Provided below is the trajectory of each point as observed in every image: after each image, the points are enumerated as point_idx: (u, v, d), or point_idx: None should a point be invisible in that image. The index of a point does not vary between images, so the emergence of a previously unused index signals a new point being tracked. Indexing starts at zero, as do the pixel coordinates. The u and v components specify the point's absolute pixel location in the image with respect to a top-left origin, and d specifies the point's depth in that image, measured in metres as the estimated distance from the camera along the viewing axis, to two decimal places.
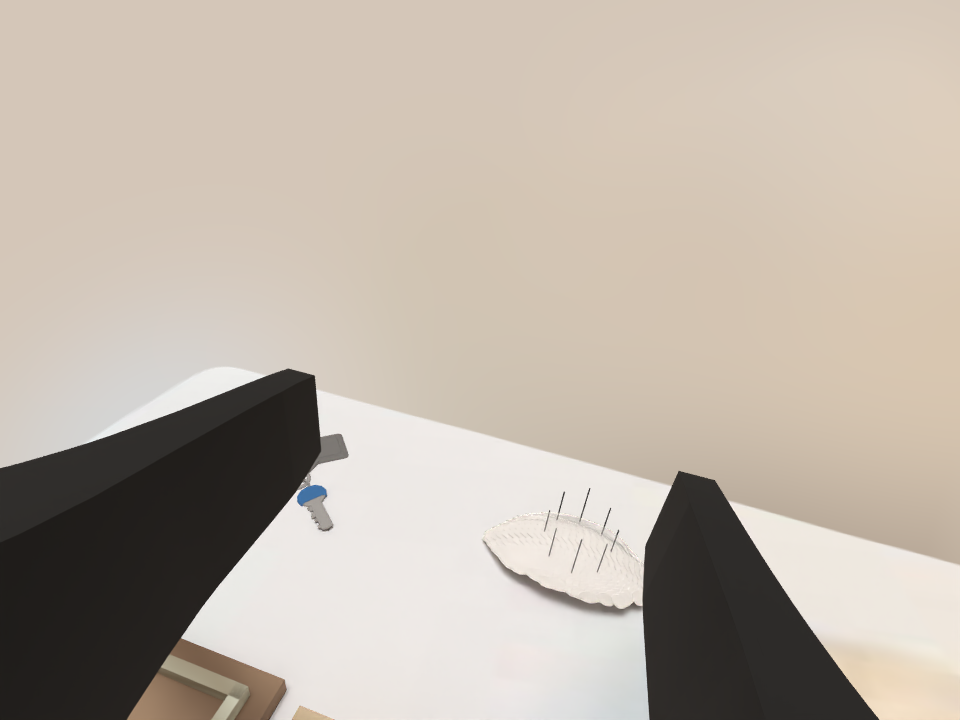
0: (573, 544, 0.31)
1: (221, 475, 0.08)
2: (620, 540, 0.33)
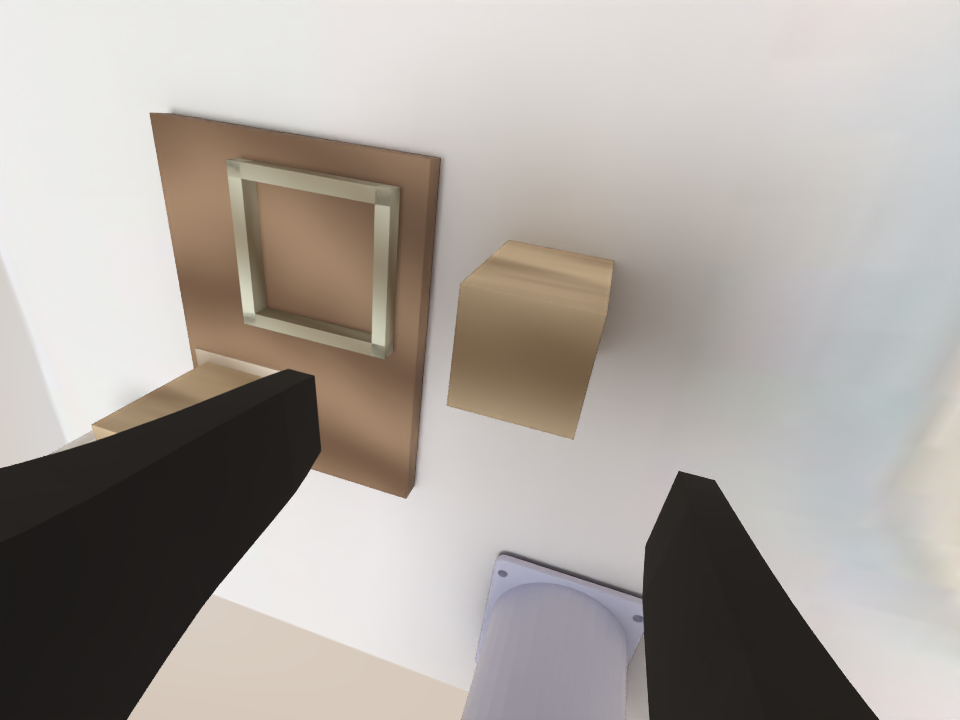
0: None
1: (221, 475, 0.08)
2: None
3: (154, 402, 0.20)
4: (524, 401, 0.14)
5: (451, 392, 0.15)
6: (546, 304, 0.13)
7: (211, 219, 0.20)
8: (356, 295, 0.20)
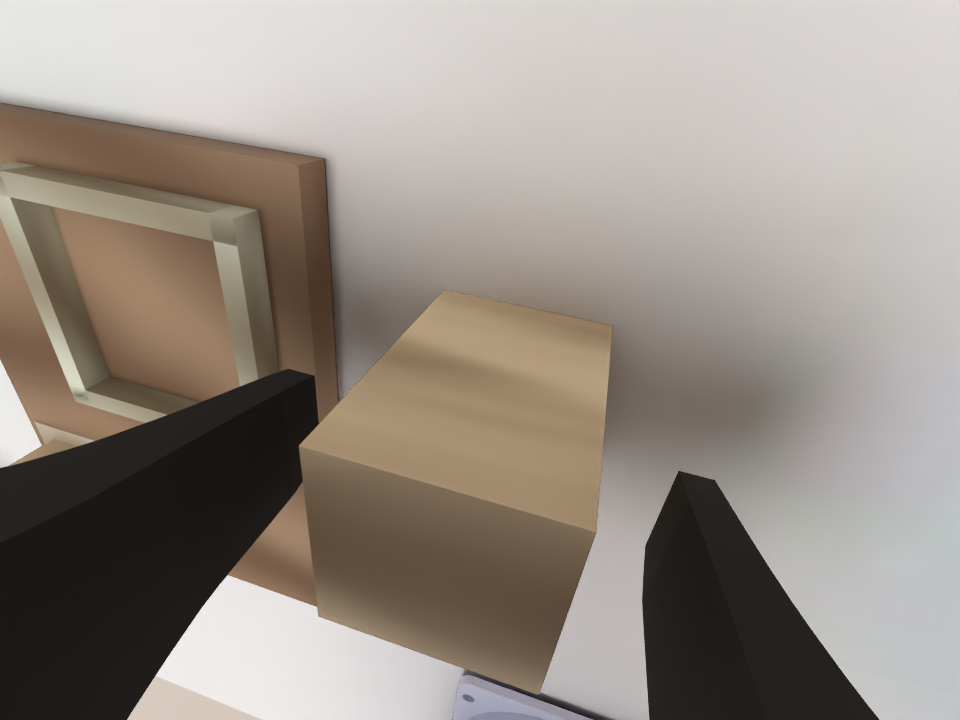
0: None
1: (221, 475, 0.08)
2: None
3: None
4: (447, 633, 0.08)
5: (321, 601, 0.08)
6: (470, 498, 0.06)
7: (3, 252, 0.13)
8: (225, 367, 0.13)
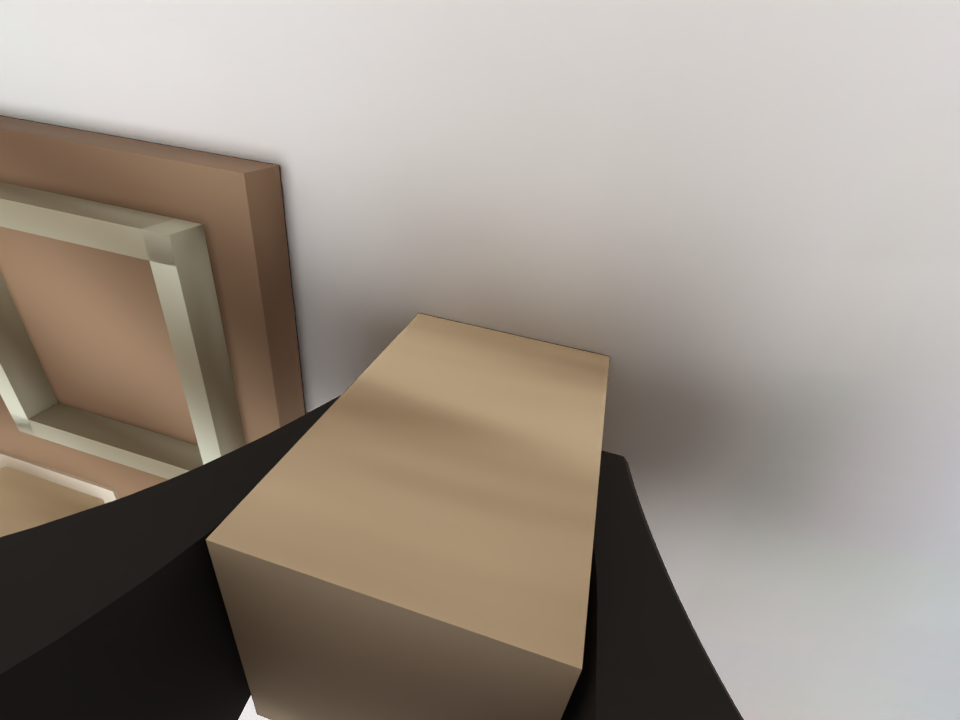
0: None
1: None
2: None
3: None
4: None
5: (257, 700, 0.07)
6: (420, 616, 0.05)
7: None
8: (178, 395, 0.12)
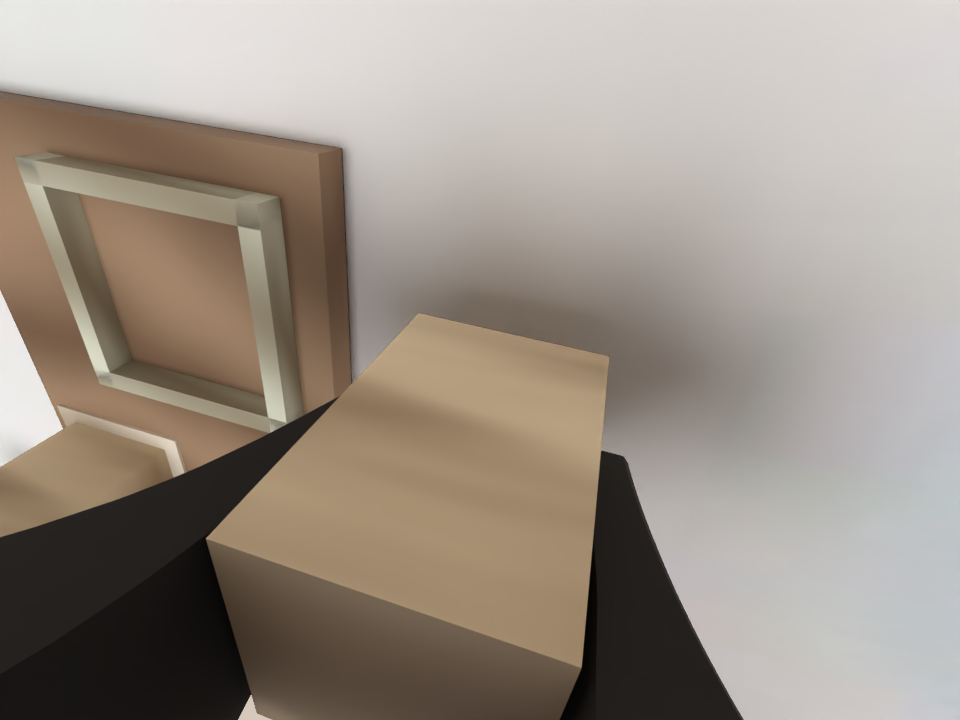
0: None
1: None
2: None
3: None
4: None
5: (258, 699, 0.07)
6: (419, 616, 0.05)
7: (31, 240, 0.14)
8: (244, 348, 0.14)
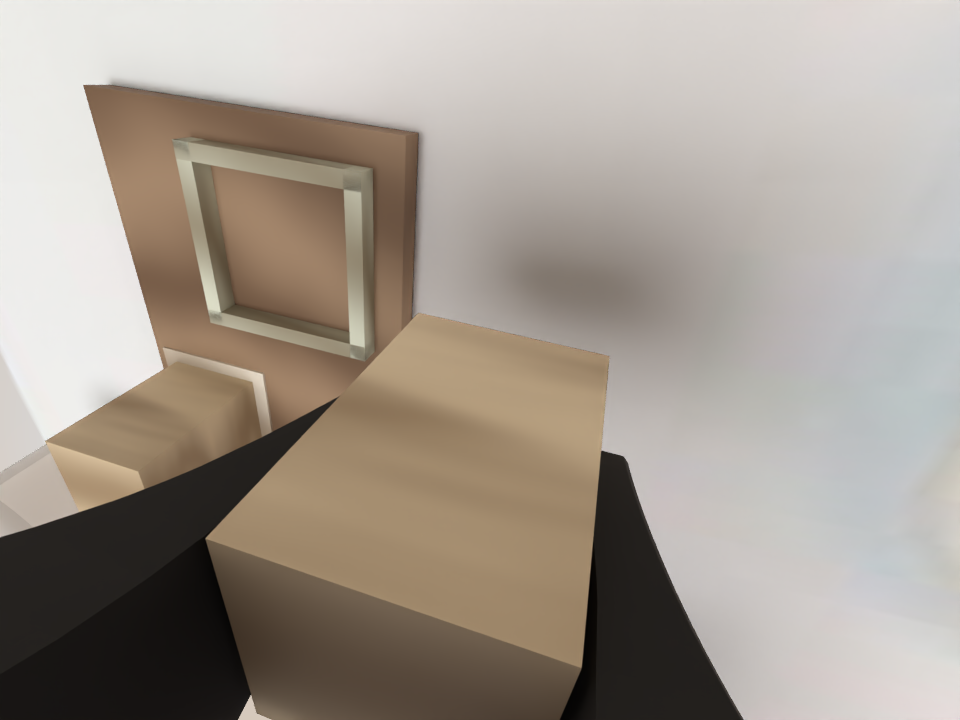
0: None
1: None
2: None
3: (116, 412, 0.19)
4: None
5: (258, 698, 0.07)
6: (420, 616, 0.05)
7: (165, 206, 0.18)
8: (331, 290, 0.18)
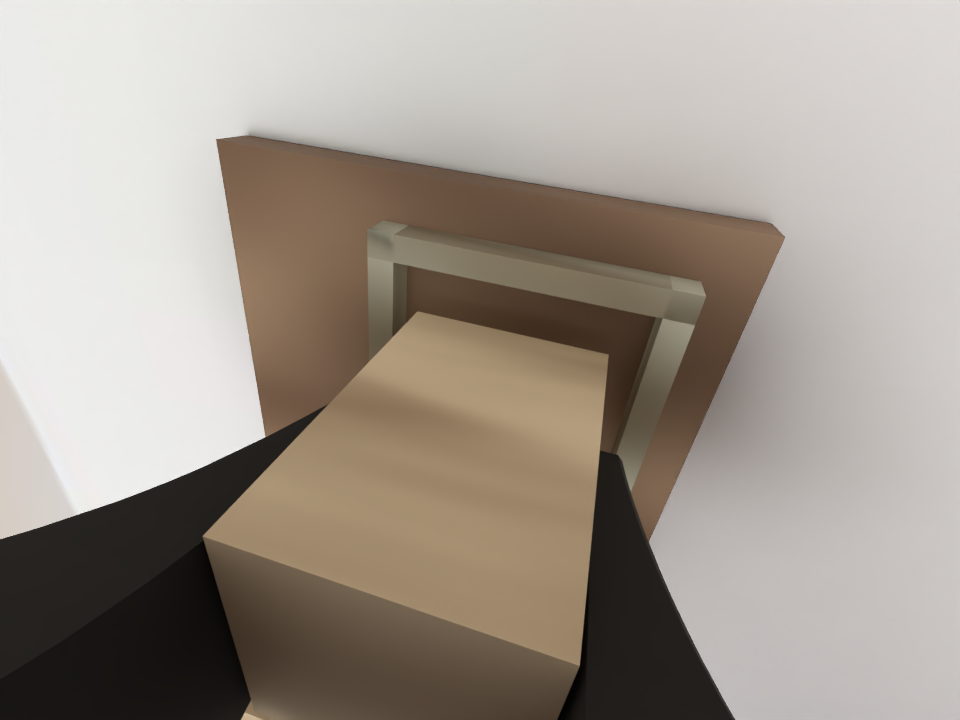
0: None
1: None
2: None
3: None
4: None
5: (256, 698, 0.07)
6: (417, 613, 0.05)
7: (319, 311, 0.12)
8: None
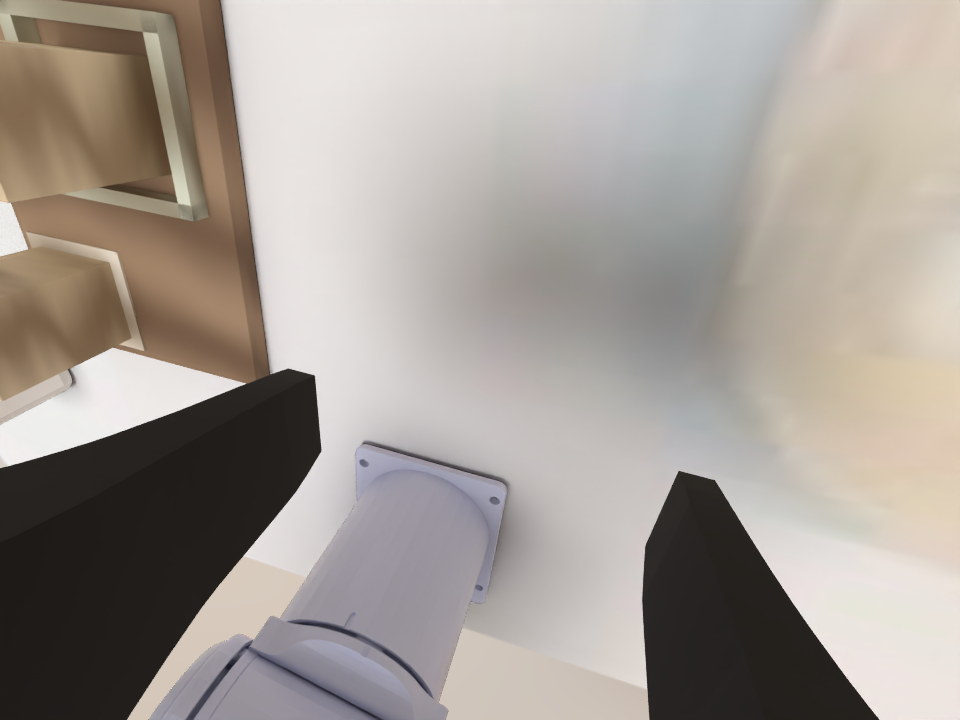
0: None
1: (221, 475, 0.08)
2: None
3: None
4: None
5: None
6: None
7: None
8: None
